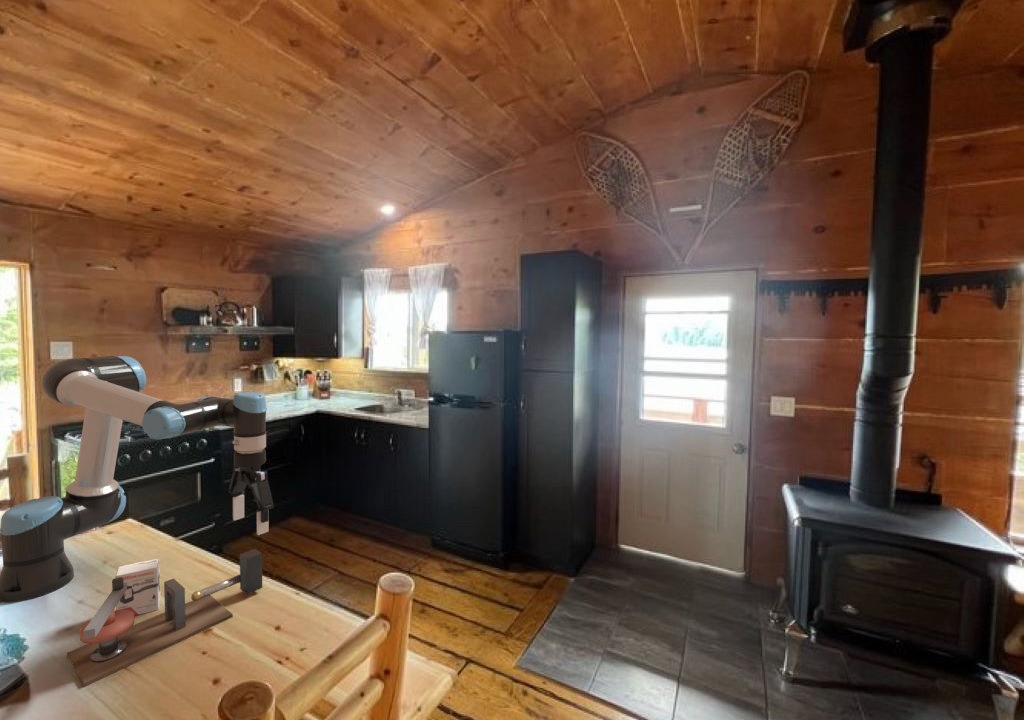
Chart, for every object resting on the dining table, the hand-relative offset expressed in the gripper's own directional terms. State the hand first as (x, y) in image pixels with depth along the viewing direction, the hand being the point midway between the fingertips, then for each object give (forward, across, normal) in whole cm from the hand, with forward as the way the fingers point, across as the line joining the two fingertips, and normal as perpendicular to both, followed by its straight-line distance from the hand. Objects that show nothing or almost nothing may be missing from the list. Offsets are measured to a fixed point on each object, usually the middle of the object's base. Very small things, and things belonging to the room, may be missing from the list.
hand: (250, 525), depth 124 cm
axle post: (+19, 0, -30) cm, 36 cm away
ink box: (+20, -14, -21) cm, 32 cm away
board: (+19, 0, -22) cm, 29 cm away
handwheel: (+13, 0, -30) cm, 33 cm away
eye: (+19, 0, -18) cm, 26 cm away
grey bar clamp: (+18, 0, -6) cm, 19 cm away
